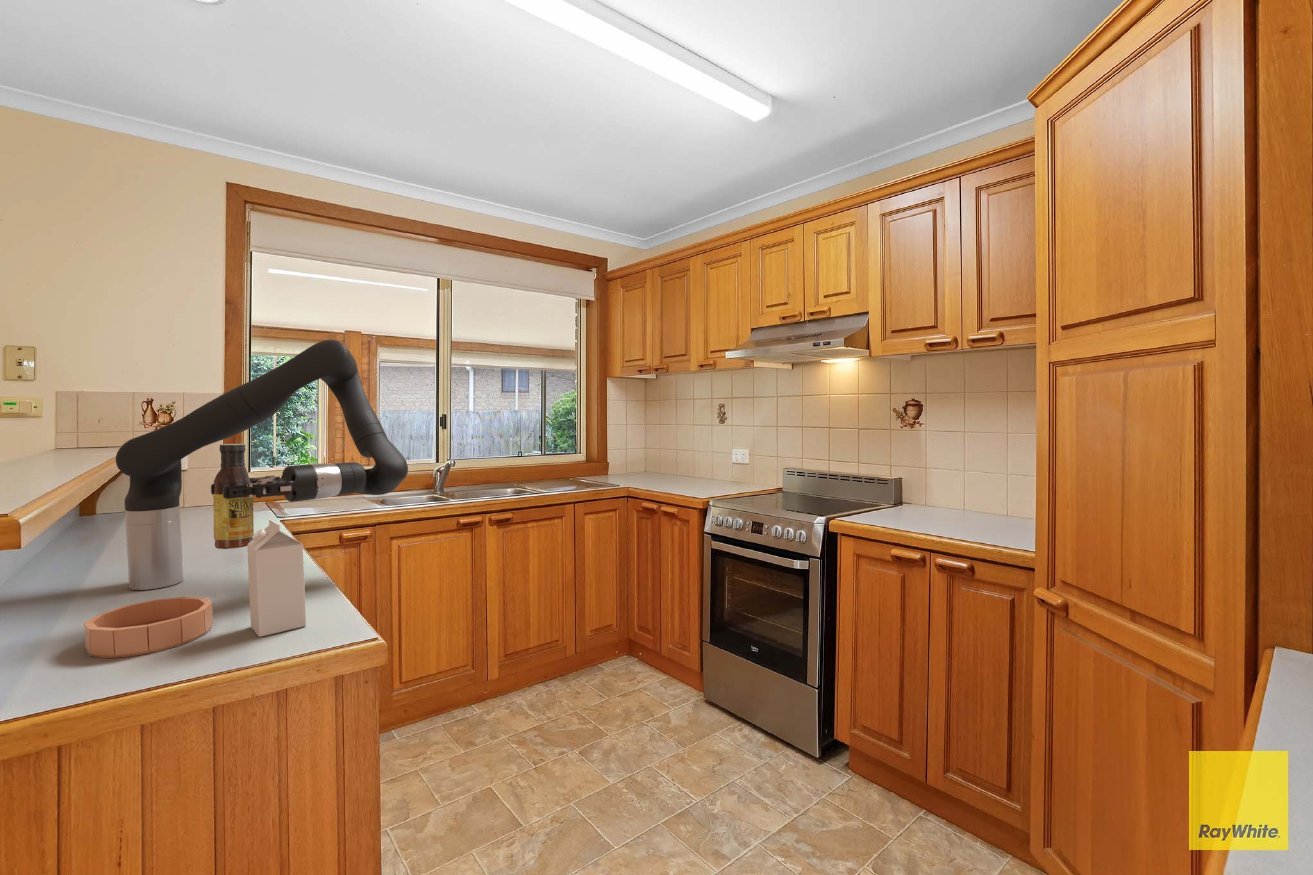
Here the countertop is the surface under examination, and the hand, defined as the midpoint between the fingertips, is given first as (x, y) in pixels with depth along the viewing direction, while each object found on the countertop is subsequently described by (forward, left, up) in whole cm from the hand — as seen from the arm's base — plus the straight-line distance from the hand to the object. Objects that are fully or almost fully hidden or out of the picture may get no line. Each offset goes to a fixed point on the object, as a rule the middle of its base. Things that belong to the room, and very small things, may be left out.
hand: (217, 491), depth 111 cm
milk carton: (+17, +3, -24) cm, 29 cm away
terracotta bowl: (+5, -12, -23) cm, 27 cm away
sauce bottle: (0, +2, -11) cm, 11 cm away
